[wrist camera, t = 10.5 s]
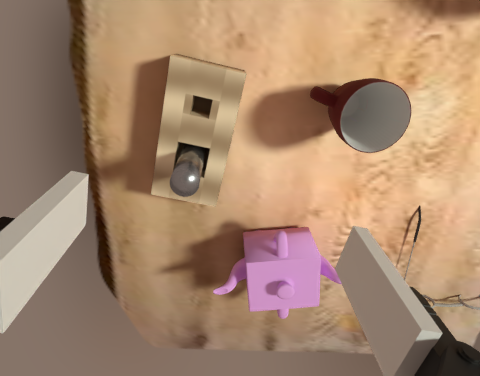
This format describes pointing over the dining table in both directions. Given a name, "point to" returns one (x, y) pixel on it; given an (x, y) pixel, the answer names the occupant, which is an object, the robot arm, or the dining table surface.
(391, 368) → the robot arm
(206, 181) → the block
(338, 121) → the mug
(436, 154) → the dining table surface
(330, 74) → the dining table surface
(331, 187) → the dining table surface
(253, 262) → the teapot
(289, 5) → the dining table surface
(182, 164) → the pin
